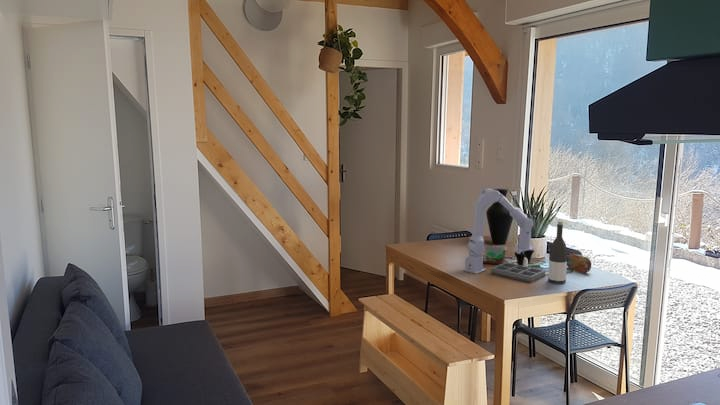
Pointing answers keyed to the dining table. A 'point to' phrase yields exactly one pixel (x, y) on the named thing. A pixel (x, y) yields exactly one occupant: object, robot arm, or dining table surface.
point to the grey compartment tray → (518, 272)
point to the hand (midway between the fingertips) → (523, 264)
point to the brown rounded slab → (578, 263)
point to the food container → (495, 254)
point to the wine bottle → (558, 258)
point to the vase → (499, 221)
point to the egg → (525, 262)
